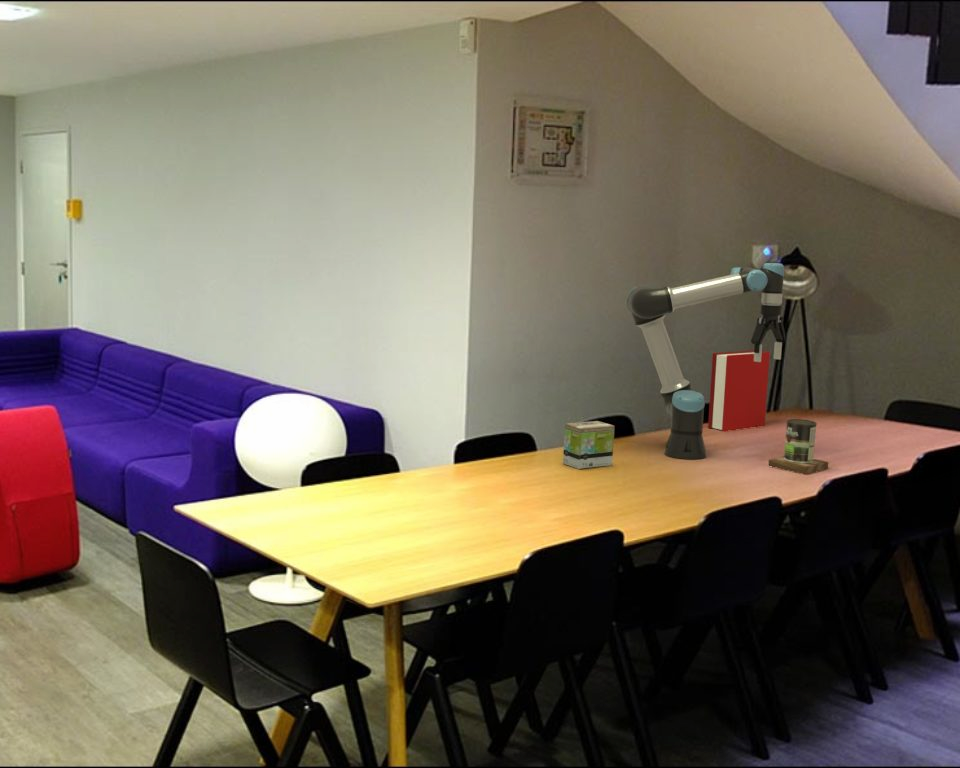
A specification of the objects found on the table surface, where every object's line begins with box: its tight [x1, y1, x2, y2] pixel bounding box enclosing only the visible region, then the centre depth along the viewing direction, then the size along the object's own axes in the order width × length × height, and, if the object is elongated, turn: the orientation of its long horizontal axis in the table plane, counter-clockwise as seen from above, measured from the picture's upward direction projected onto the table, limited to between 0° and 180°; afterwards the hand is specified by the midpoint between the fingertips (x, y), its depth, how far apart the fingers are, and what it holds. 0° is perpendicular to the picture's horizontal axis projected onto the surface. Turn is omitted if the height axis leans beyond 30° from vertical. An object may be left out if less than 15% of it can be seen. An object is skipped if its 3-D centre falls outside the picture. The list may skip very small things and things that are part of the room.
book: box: [707, 349, 771, 432], centre depth 458 cm, size 27×8×32 cm, turn 124°
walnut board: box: [767, 455, 829, 475], centre depth 388 cm, size 15×15×3 cm
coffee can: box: [783, 418, 817, 463], centre depth 386 cm, size 10×10×14 cm
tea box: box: [562, 420, 615, 470], centre depth 382 cm, size 15×10×15 cm, turn 123°
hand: (767, 360), depth 411 cm, fingers open, 13 cm apart
